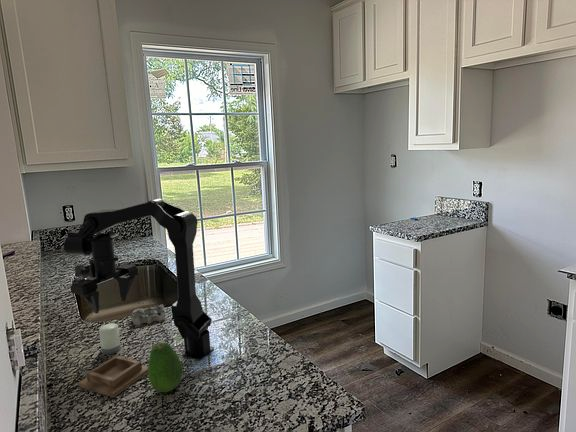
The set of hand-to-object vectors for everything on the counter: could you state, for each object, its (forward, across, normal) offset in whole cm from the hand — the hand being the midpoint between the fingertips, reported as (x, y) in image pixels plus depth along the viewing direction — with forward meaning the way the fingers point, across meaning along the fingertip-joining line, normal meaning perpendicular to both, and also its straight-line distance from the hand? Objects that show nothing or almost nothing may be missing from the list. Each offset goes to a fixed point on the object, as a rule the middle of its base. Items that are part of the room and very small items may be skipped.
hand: (110, 306), depth 114 cm
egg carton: (+13, -18, -5) cm, 22 cm away
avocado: (+13, +10, +30) cm, 34 cm away
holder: (+12, +12, +14) cm, 22 cm away
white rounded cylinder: (+12, +2, +1) cm, 12 cm away
